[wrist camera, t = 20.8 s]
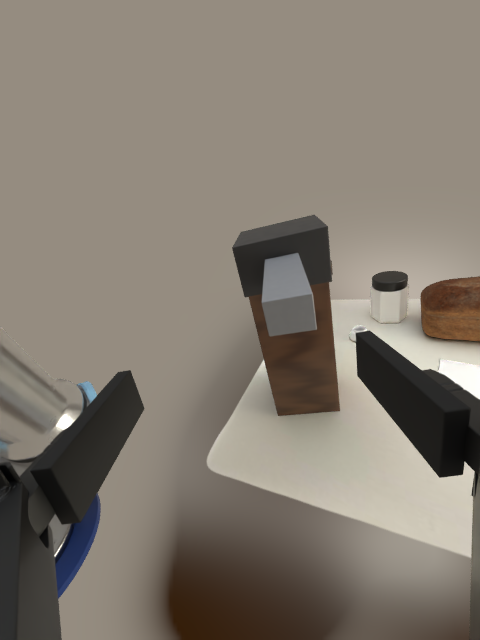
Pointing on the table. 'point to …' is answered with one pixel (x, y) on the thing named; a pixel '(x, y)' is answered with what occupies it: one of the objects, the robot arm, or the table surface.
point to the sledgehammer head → (285, 270)
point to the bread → (452, 309)
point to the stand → (301, 360)
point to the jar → (389, 296)
